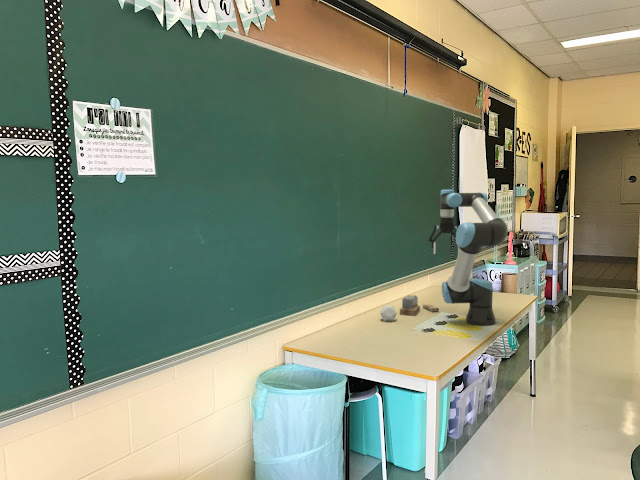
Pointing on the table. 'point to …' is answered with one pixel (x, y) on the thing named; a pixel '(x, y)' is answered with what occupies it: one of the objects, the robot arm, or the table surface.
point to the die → (388, 313)
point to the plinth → (410, 311)
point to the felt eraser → (430, 308)
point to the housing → (410, 302)
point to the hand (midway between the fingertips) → (446, 254)
